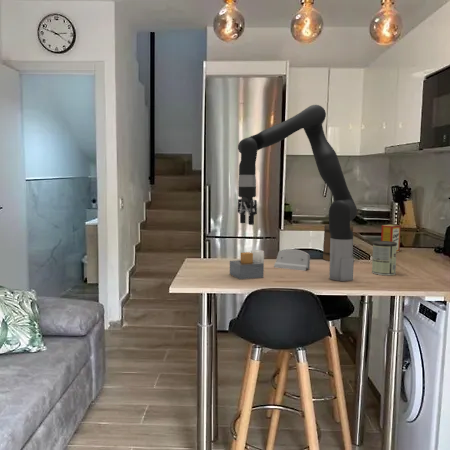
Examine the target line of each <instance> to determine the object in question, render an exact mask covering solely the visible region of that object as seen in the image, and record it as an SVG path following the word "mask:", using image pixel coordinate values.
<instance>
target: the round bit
mask: <svg viewBox="0 0 450 450" xmlns="http://www.w3.org/2000/svg"><path fill="white" fill-rule="evenodd" d="M250 253H253V260H255V261H258V262H261V263H263V264H264V265H265V263H264V262H265V251H264V250H261V249H251V250H250Z"/></svg>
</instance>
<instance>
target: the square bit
mask: <svg viewBox="0 0 450 450" xmlns="http://www.w3.org/2000/svg"><path fill="white" fill-rule="evenodd" d="M240 260H241V263H243V264H245V263H253V253H251V251H248V252H247V251H246V252H240Z"/></svg>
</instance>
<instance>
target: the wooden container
mask: <svg viewBox="0 0 450 450" xmlns="http://www.w3.org/2000/svg"><path fill="white" fill-rule="evenodd" d="M323 229H324V230H323V231H324V232H323V244H322V245H323V246H322V247H323V249H322V259H323V260H324V261H327V262H330V240H331V234H330V231H329V223H328V224H324V228H323ZM350 229H351V231H352V232H353V231H354V225H352V224H350ZM353 233H354V232H353Z"/></svg>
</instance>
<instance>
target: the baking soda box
mask: <svg viewBox="0 0 450 450" xmlns="http://www.w3.org/2000/svg"><path fill="white" fill-rule="evenodd" d="M380 241H391V242H396V243H397V248H396V251H400V252H401V250H400V249H401V248H400V247H401V225H399V224H382V225H381V238H380Z"/></svg>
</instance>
